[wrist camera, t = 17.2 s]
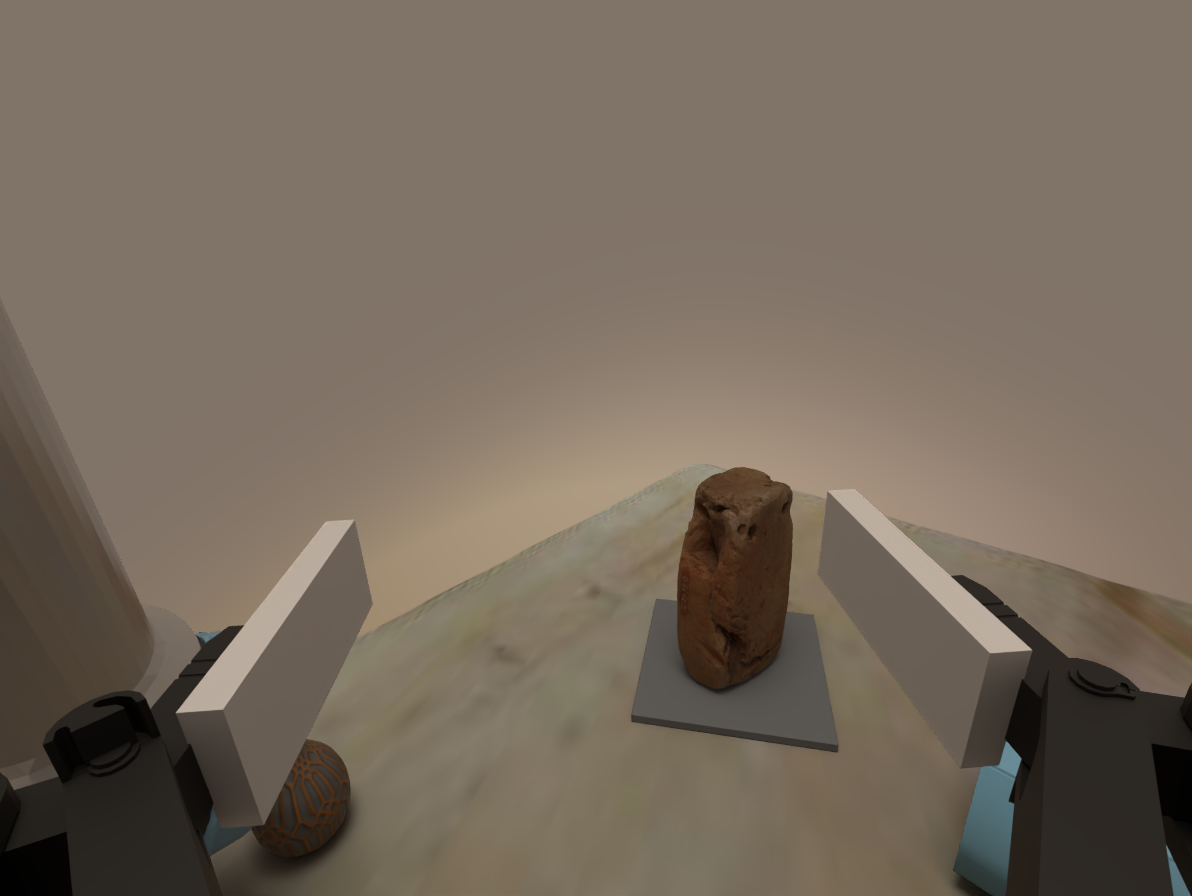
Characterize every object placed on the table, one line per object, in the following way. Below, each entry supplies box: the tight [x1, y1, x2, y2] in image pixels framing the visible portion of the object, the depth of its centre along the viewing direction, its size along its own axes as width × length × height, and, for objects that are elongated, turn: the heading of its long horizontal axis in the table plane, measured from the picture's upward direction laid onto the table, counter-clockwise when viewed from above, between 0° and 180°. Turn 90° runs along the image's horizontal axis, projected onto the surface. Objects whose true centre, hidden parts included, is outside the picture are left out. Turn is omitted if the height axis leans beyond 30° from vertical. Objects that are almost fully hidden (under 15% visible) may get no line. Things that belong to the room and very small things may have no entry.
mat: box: [631, 599, 838, 752], centre depth 60 cm, size 18×18×1 cm
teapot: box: [953, 741, 1190, 896], centre depth 37 cm, size 22×11×14 cm, turn 134°
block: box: [677, 467, 793, 689], centre depth 56 cm, size 11×8×20 cm
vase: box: [252, 739, 350, 857], centre depth 44 cm, size 7×7×9 cm
